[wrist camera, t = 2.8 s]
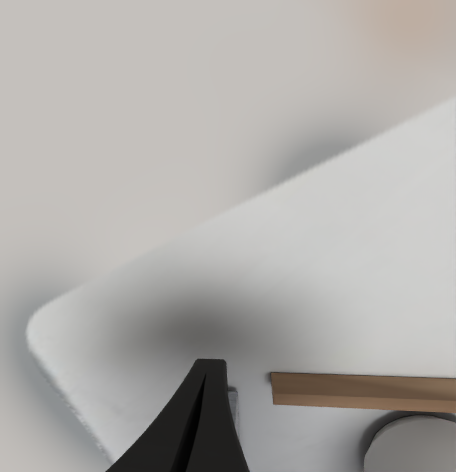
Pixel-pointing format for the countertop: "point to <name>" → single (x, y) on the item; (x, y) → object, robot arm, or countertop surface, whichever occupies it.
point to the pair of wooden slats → (365, 392)
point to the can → (413, 446)
